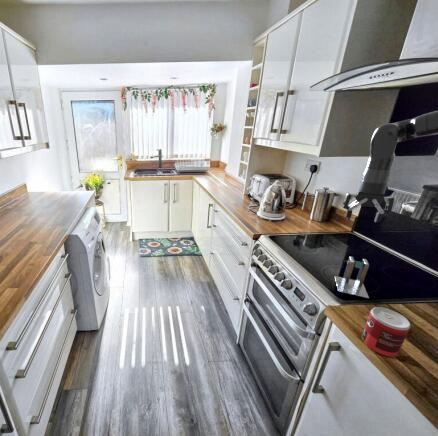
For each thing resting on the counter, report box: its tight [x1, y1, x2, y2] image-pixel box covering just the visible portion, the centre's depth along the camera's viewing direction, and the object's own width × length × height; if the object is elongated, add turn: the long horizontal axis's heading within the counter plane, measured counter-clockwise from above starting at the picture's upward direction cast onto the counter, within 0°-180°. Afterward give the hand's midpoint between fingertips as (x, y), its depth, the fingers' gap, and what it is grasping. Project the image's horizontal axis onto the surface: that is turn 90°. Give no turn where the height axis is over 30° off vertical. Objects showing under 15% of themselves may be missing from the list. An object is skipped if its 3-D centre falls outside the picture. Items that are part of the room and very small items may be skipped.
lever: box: [341, 259, 363, 269], centre depth 94 cm, size 12×5×2 cm, turn 149°
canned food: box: [361, 306, 411, 359], centre depth 67 cm, size 8×8×11 cm
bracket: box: [334, 256, 370, 299], centre depth 91 cm, size 11×9×13 cm
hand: (361, 220), depth 95 cm, fingers open, 8 cm apart
